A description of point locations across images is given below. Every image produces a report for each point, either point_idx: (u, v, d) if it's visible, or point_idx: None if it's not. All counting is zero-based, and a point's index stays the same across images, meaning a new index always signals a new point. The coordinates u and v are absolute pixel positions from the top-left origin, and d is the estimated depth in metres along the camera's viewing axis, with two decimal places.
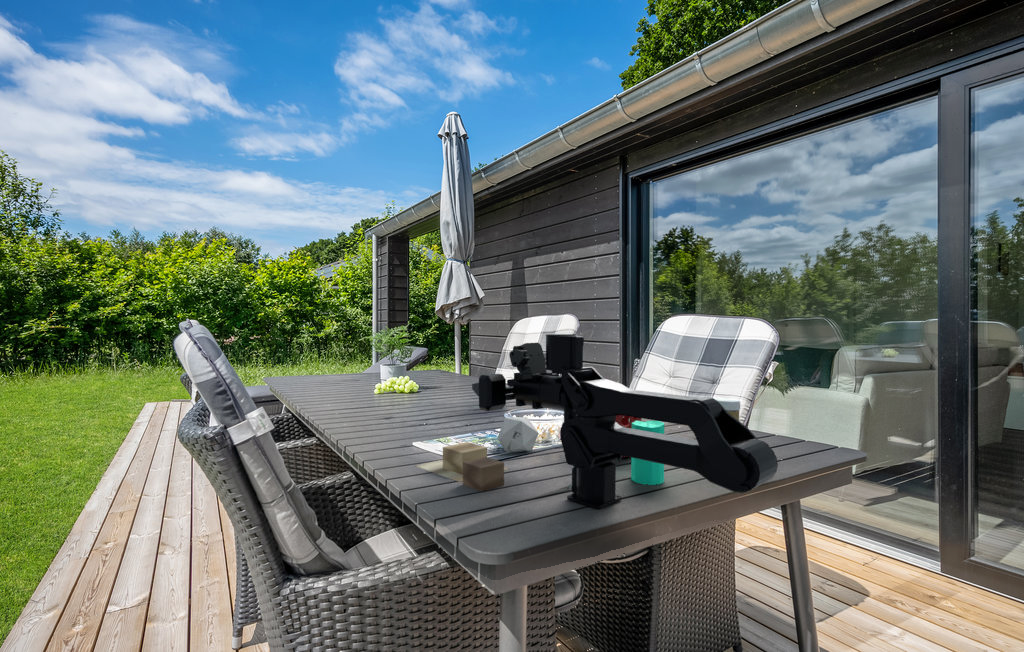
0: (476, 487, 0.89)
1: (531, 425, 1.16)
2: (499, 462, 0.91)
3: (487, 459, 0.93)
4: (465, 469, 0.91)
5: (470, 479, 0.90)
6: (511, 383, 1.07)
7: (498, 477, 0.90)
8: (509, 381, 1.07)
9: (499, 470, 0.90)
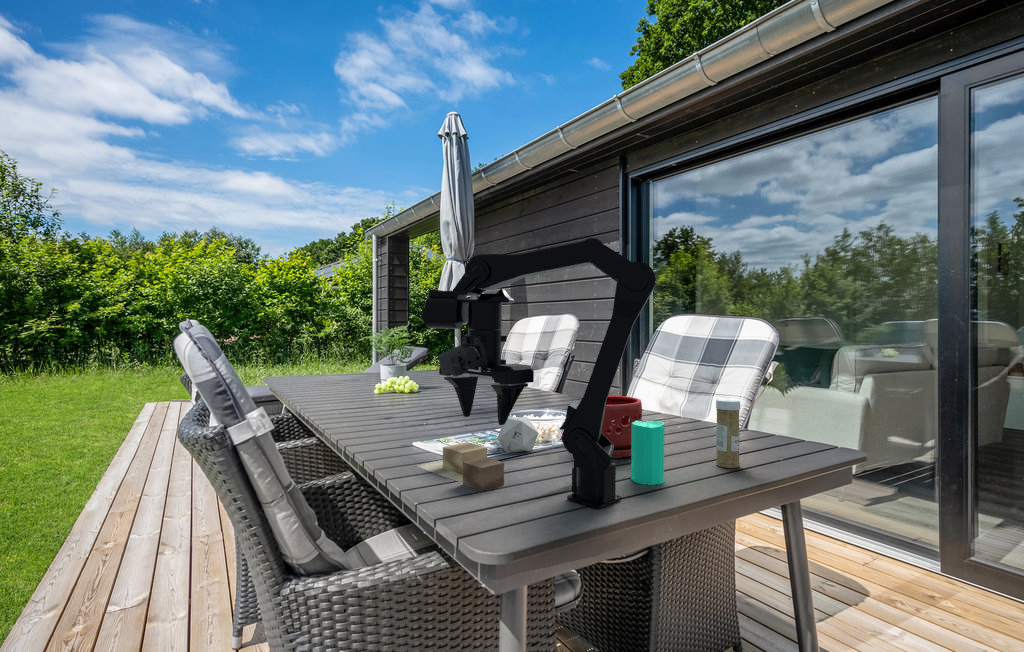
0: (476, 487, 0.89)
1: (531, 425, 1.16)
2: (499, 462, 0.91)
3: (487, 459, 0.93)
4: (465, 469, 0.91)
5: (470, 479, 0.90)
6: (468, 409, 0.94)
7: (498, 477, 0.90)
8: (466, 412, 0.94)
9: (499, 470, 0.90)
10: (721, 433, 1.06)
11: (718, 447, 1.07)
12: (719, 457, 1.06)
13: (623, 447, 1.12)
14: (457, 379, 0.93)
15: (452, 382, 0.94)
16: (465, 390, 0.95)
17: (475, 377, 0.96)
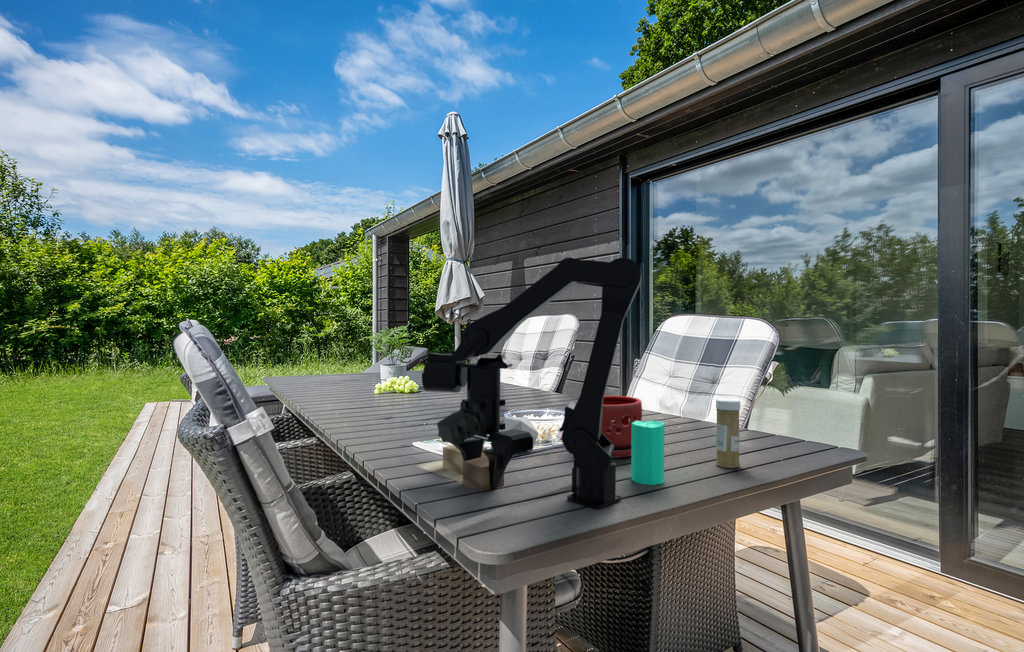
0: (476, 486, 0.89)
1: (531, 425, 1.16)
2: None
3: (487, 459, 0.93)
4: (465, 468, 0.91)
5: (470, 479, 0.90)
6: None
7: None
8: None
9: None
10: (721, 433, 1.06)
11: (718, 447, 1.07)
12: (719, 457, 1.06)
13: (623, 447, 1.12)
14: (463, 444, 0.92)
15: (458, 447, 0.92)
16: (471, 453, 0.93)
17: (481, 439, 0.95)
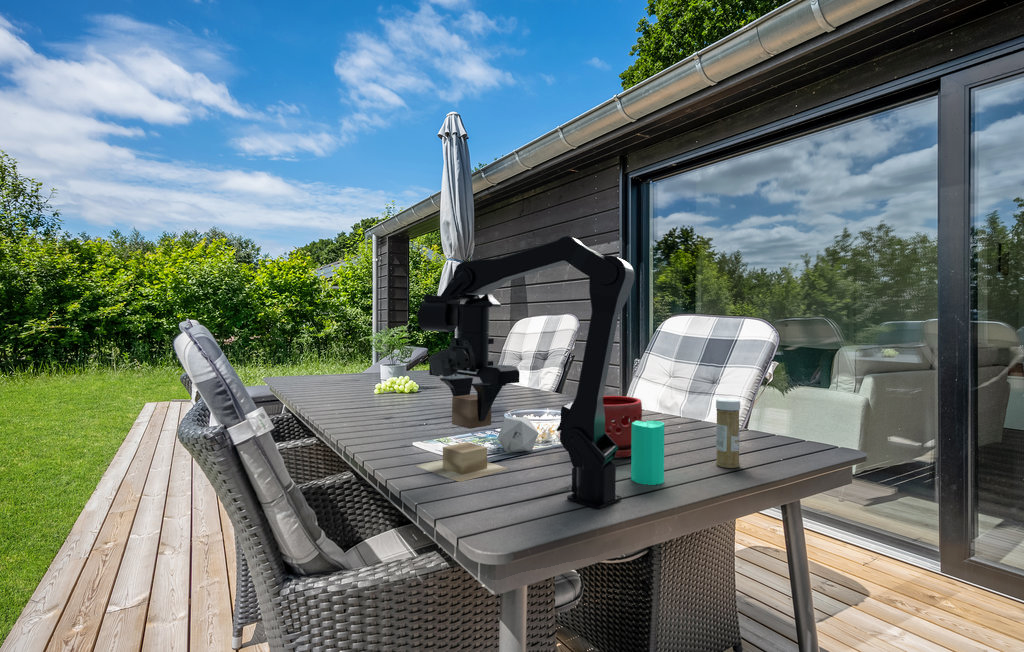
0: (465, 419, 0.93)
1: (531, 425, 1.16)
2: None
3: (476, 395, 0.97)
4: (455, 403, 0.95)
5: (459, 412, 0.94)
6: None
7: None
8: None
9: None
10: (721, 433, 1.06)
11: (718, 447, 1.07)
12: (719, 457, 1.06)
13: (623, 447, 1.12)
14: (453, 380, 0.97)
15: (448, 383, 0.97)
16: (461, 390, 0.98)
17: (470, 378, 1.00)
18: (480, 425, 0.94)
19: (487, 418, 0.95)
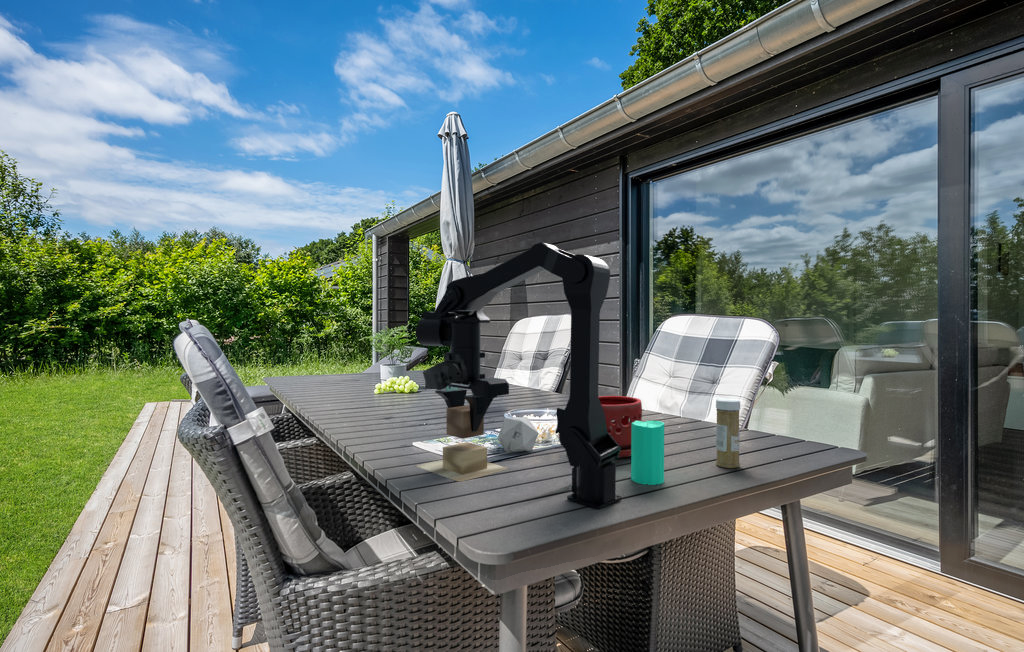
0: (458, 429, 0.98)
1: (531, 425, 1.16)
2: None
3: (469, 407, 1.02)
4: (449, 414, 1.00)
5: (453, 423, 1.00)
6: None
7: None
8: None
9: None
10: (721, 433, 1.06)
11: (718, 447, 1.07)
12: (719, 457, 1.06)
13: (623, 447, 1.12)
14: (447, 393, 1.02)
15: (443, 395, 1.02)
16: (455, 402, 1.03)
17: (464, 390, 1.05)
18: (473, 435, 0.99)
19: (480, 428, 1.00)
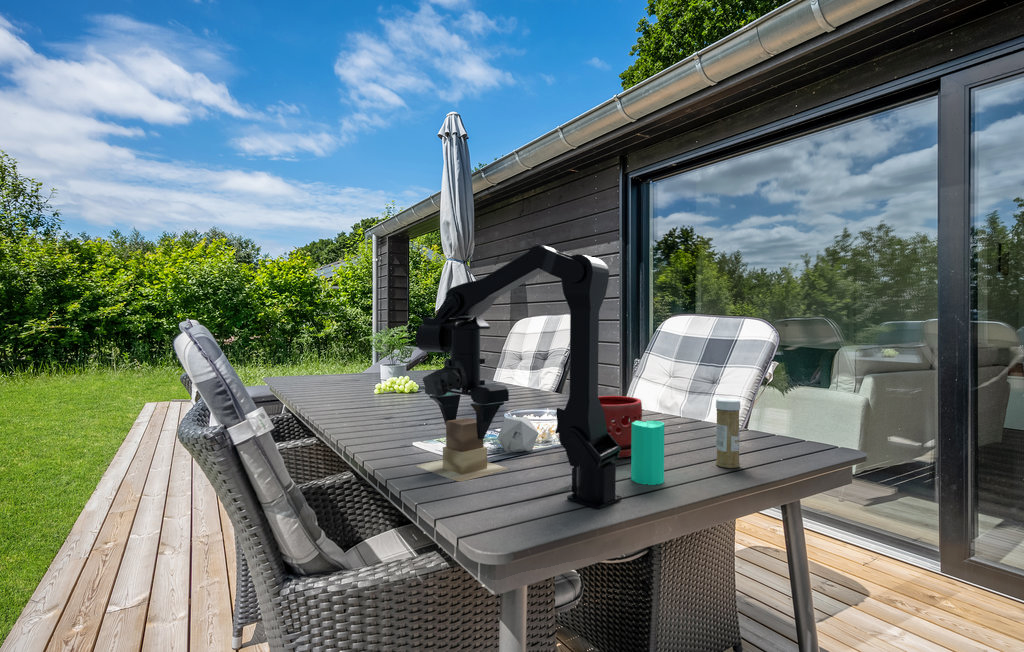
0: (458, 442, 0.98)
1: (531, 425, 1.16)
2: None
3: (468, 419, 1.03)
4: (448, 427, 1.00)
5: (452, 436, 1.00)
6: None
7: None
8: None
9: None
10: (721, 433, 1.06)
11: (718, 447, 1.07)
12: (719, 457, 1.06)
13: (623, 447, 1.12)
14: (441, 398, 1.03)
15: (436, 400, 1.04)
16: (448, 407, 1.05)
17: (458, 395, 1.06)
18: (472, 448, 0.99)
19: (479, 441, 1.00)
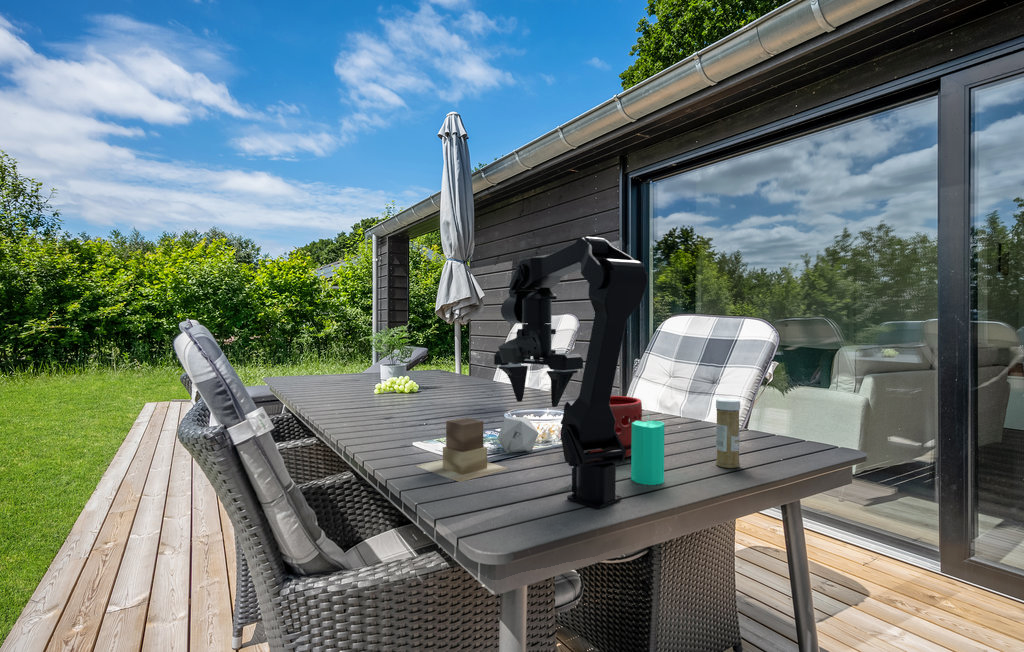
0: (458, 442, 0.98)
1: (531, 425, 1.16)
2: (479, 421, 1.01)
3: (468, 419, 1.03)
4: (448, 427, 1.00)
5: (452, 436, 1.00)
6: (520, 394, 1.07)
7: (478, 434, 1.00)
8: (519, 398, 1.06)
9: (479, 428, 1.00)
10: (721, 433, 1.06)
11: (718, 447, 1.07)
12: (719, 457, 1.06)
13: None
14: (511, 368, 1.06)
15: (507, 371, 1.06)
16: (518, 377, 1.07)
17: (525, 366, 1.09)
18: (472, 448, 0.99)
19: (479, 441, 1.00)
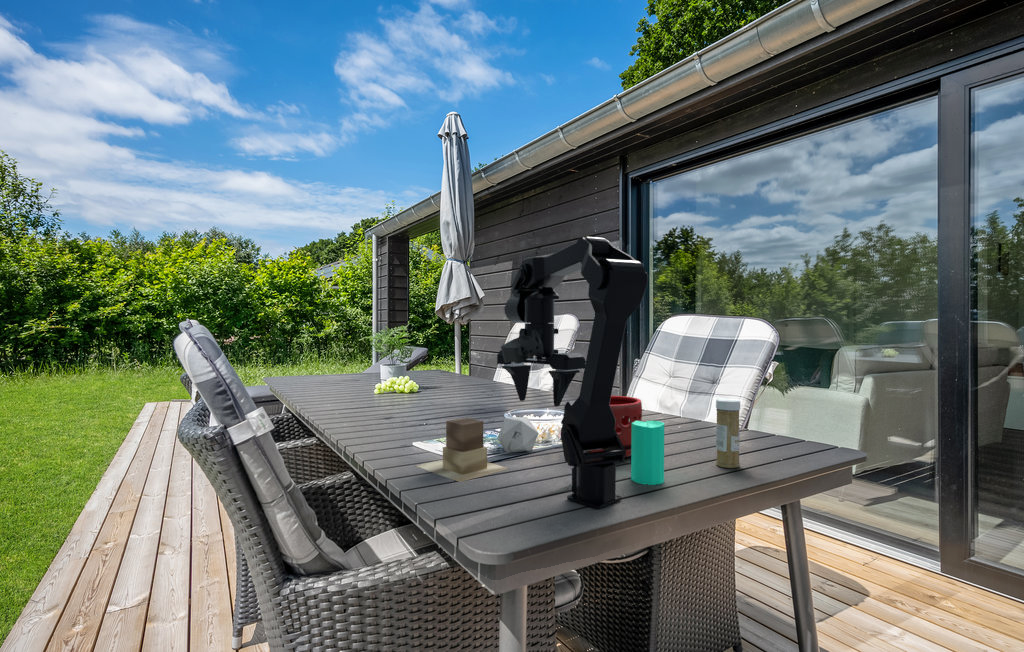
0: (458, 442, 0.98)
1: (531, 425, 1.16)
2: (479, 421, 1.01)
3: (468, 419, 1.03)
4: (448, 427, 1.00)
5: (452, 436, 1.00)
6: (523, 394, 1.07)
7: (478, 434, 1.00)
8: (522, 397, 1.07)
9: (479, 428, 1.00)
10: (721, 433, 1.06)
11: (718, 447, 1.07)
12: (719, 457, 1.06)
13: None
14: (514, 367, 1.06)
15: (509, 370, 1.06)
16: (520, 377, 1.07)
17: (528, 366, 1.09)
18: (472, 448, 0.99)
19: (479, 441, 1.00)
